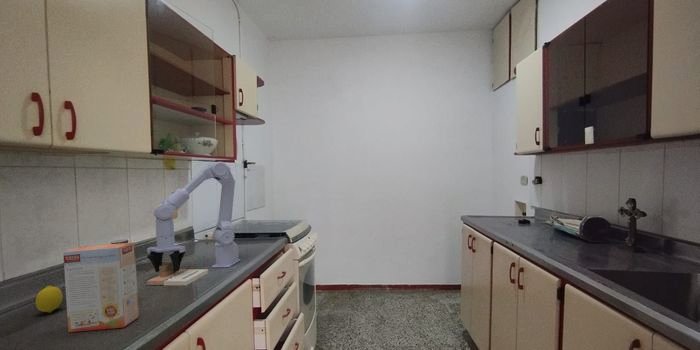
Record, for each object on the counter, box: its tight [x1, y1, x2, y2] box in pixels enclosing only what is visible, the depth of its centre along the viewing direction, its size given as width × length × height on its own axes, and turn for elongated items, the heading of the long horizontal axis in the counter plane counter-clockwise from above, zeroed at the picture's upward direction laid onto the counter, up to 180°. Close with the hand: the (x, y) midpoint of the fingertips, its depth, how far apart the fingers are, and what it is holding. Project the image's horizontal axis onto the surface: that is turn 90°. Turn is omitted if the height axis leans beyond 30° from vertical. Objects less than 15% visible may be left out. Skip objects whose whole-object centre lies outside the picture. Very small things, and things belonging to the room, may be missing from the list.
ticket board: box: [163, 268, 209, 286], centre depth 106 cm, size 12×9×2 cm
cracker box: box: [62, 242, 140, 333], centre depth 74 cm, size 14×6×21 cm, turn 92°
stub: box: [146, 261, 188, 286], centre depth 107 cm, size 12×6×6 cm, turn 172°
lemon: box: [35, 285, 64, 314], centre depth 84 cm, size 6×6×8 cm
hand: (167, 271), depth 107 cm, fingers open, 7 cm apart
